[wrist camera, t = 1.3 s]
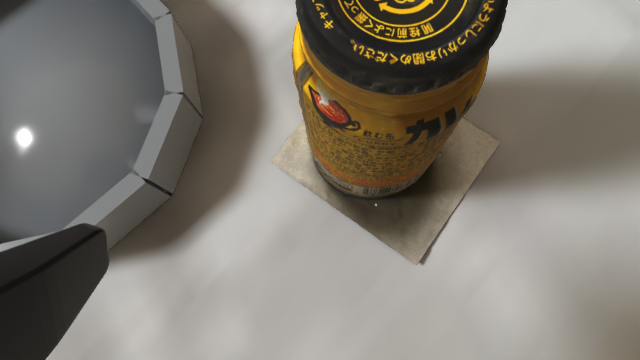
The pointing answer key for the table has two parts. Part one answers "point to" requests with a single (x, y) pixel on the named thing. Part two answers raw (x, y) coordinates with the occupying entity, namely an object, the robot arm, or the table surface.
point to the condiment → (391, 110)
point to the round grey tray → (91, 114)
